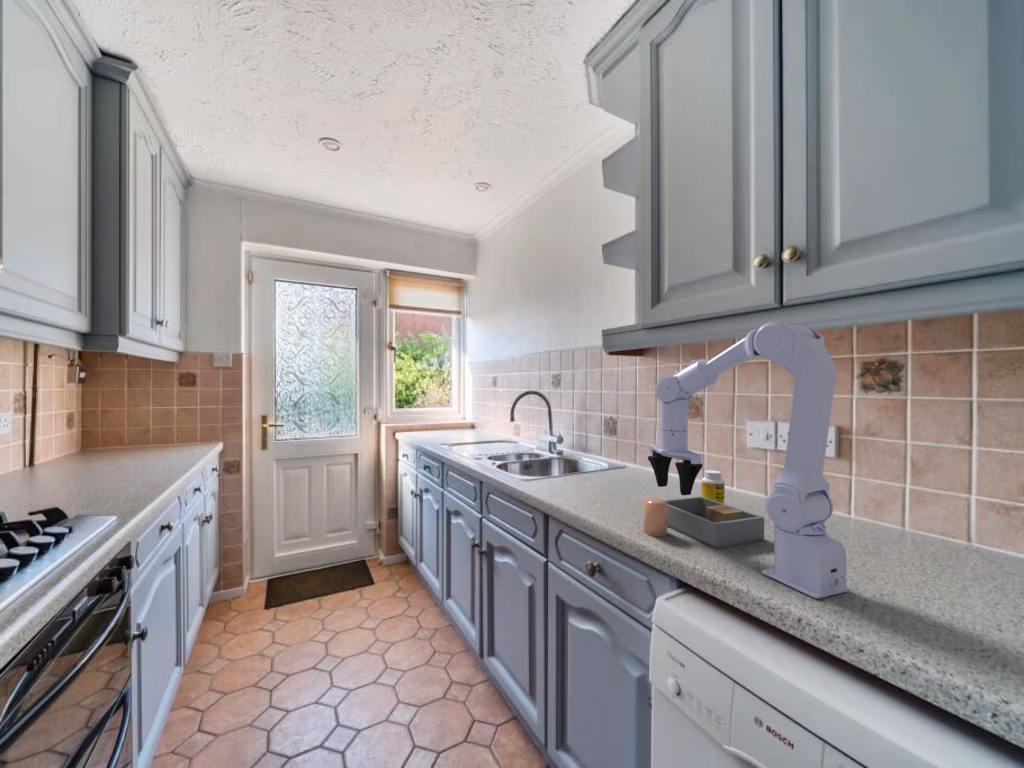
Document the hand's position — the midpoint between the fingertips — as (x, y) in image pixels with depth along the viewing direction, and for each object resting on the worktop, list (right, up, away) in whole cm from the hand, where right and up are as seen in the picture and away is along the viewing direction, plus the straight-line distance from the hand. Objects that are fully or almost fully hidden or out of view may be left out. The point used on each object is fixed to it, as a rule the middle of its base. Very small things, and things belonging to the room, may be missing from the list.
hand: (673, 490), depth 92 cm
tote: (+8, -10, +1) cm, 13 cm away
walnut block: (+11, -9, -1) cm, 14 cm away
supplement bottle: (+17, -10, +17) cm, 26 cm away
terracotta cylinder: (-4, -10, 0) cm, 10 cm away
